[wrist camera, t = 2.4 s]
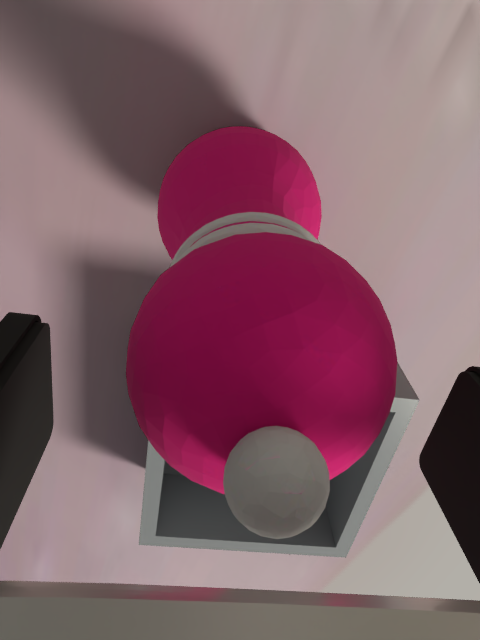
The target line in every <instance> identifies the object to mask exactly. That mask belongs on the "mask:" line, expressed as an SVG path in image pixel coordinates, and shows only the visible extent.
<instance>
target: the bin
mask: <svg viewBox="0 0 480 640" xmlns="http://www.w3.org/2000/svg"><path fill="white" fill-rule="evenodd" d="M418 402H419V398H418V397H417V395H416V393H415V391H414V390H413V388H412V386H411V385H410V383H409V381H408V380H407V378H406V376H405V374H404V373H403V371H402V369H401V368H400V366H399V364H398V362H397V377H396V392H395V397H394V400H393V404H392V407H391V410H390V413H389V415H388V417H387V419H386V421H385V424H384V426H383V428H382V430H381V432H380V434H379V435H378V437H377V438H376V439H375V441H374V442H373V443H372V445H371V446H370V448H369V449H368V450H367V452H366V453H365V454H364V455H363V456H362V457H361V458H360V459H358V460H357V461H356V462H355V463H354V464H353V465H351V466H350V467H349V468H348V469H347V470H345V471H344V472H342V473H341V474H339V475H337V476H336V477H334V478H332V479H331V480H330V492H329V496H328V499H327V503H326V506H325V509H324V510H323V512H322V514H321V515H320V517H319V518H318V520H317V521H316V522H315V523H314V524H313V525H312V526H311V527H310V528H308V529H306V530H305V531H303V532H301V533H299V534H298V535H295V536H292V537H288V538H281V539H274V538H268V537H263V536H260V535H258V534H256V533H254V532H252V531H250V530H248V529H247V528H246V527H245V526H244V525H243V524H242V523H240V522H239V521H238V520H237V518H236V517H235V516H234V514H233V513H232V511H231V509H230V507H229V505H228V502H227V500H226V497H225V494H221V493H219V492H217V491H214V490H212V489H210V488H207V487H205V486H203V485H200V484H198V483H196V482H193V481H191V480H190V479H188V478H187V477H185V476H184V475H183V474H181V473H180V472H178V471H177V470H175V469H174V468H173V467H171V466H170V465H169V464H168V463H167V462H166V461H165V460H164V459H163V458H162V457H161V456H160V455H159V453H158V452H157V451H156V450H155V449H154V447H153V446H152V444H151V443H150V442H149V440H148V449H147V460H146V471H145V482H144V493H143V504H142V515H141V526H140V537H139V545H150V546H167V547H183V548H199V549H216V550H232V551H248V552H265V553H281V554H297V555H314V556H330V557H346V556H347V554H348V552H349V550H350V548H351V546H352V544H353V541H354V539H355V537H356V535H357V533H358V531H359V529H360V526H361V524H362V522H363V520H364V518H365V516H366V514H367V511H368V509H369V507H370V505H371V503H372V501H373V499H374V496H375V494H376V492H377V490H378V488H379V486H380V484H381V482H382V479H383V477H384V475H385V473H386V471H387V469H388V467H389V464H390V462H391V460H392V458H393V456H394V454H395V452H396V449H397V447H398V445H399V443H400V441H401V439H402V437H403V434H404V432H405V430H406V428H407V426H408V424H409V422H410V420H411V417H412V415H413V413H414V411H415V409H416V407H417V405H418Z"/></svg>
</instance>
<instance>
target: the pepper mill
mask: <svg viewBox="0 0 480 640" xmlns="http://www.w3.org/2000/svg"><path fill="white" fill-rule="evenodd" d="M320 223H321V200H320V196H319V192H318V189H317V185H316V182H315V179H314V177H313V174H312V172H311V170H310V168H309V166H308V165H307V163H306V161H305V160H304V159H303V157H302V156H301V155H300V154H299V152H298V151H297V150H296V149H295V148H293V147H292V146H291V145H290V144H289V143H288V142H286V141H285V140H283V139H281V138H280V137H278V136H277V135H275V134H272V133H270V132H267V131H265V130H261V129H257V128H252V127H244V126H234V127H225V128H220V129H217V130H214V131H212V132H209V133H207V134H204V135H202V136H201V137H199V138H197V139H196V140H194V141H193V142H191V143H189V144H188V145H187V146H186V147H185V148H184V149H183V150H182V151H181V152H180V153H179V154H178V155H177V156H176V158H175V159H174V160H173V162H172V163H171V165H170V166H169V168H168V170H167V172H166V174H165V176H164V179H163V182H162V185H161V189H160V194H159V200H158V224H159V231H160V234H161V237H162V241H163V243H164V245H165V247H166V249H167V251H168V253H169V255H170V257H171V259H172V263H171V265H170V267H169V269H168V270H166V271H165V272H164V273H162V274H161V275H160V276H159V278H158V279H157V281H156V282H155V284H154V285H153V287H152V288H151V289H150V291H149V292H148V294H147V295H146V297H145V298H144V300H143V302H142V305H141V307H140V309H139V312H138V314H137V317H136V319H135V321H134V324H133V326H132V328H131V331H130V337H129V343H128V351H127V365H126V379H127V387H128V394H129V397H130V400H131V403H132V406H133V409H134V412H135V415H136V418H137V421H138V424H139V427H140V428H141V430H142V431H143V433H144V434H145V436H146V437H147V439H148V440H149V442H150V443H151V444H152V446H153V447H154V449H155V450H156V451H157V452H158V453H159V455H160V456H161V457H162V458H163V459H164V460H165V461H166V462H167V463H168V464H169V465H170V466H171V467H173V468H174V469H175V470H177V471H178V472H180V473H181V474H183V475H184V476H185V477H187V478H188V479H190V480H191V481H193V482H196V483H198V484H200V485H203V486H205V487H207V488H210V489H212V490H214V491H217V492H219V493H221V494H225V497H226V500H227V502H228V505H229V507H230V509H231V511H232V513H233V514H234V516H235V517H236V518H237V520H238V521H239V522H240V523H242V524H243V525H244V526H245V527H246V528H247V529H248V530H250V531H252V532H254V533H256V534H258V535H260V536H263V537H268V538H274V539H281V538H288V537H292V536H295V535H298V534H299V533H301V532H303V531H305V530H306V529H308V528H310V527H311V526H312V525H313V524H314V523H315V522H316V521H317V520H318V518H319V517H320V515H321V514H322V512H323V510H324V509H325V506H326V503H327V499H328V496H329V492H330V480H331V479H332V478H334V477H336V476H337V475H339V474H341V473H342V472H344V471H345V470H347V469H348V468H349V467H350V466H351V465H353V464H354V463H355V462H356V461H357V460H358V459H360V458H361V457H362V456H363V455H364V454H365V453H366V452H367V450H368V449H369V448H370V446H371V445H372V443H373V442H374V441H375V439H376V438H377V437H378V435H379V434H380V432H381V430H382V428H383V426H384V424H385V421H386V419H387V417H388V415H389V413H390V410H391V407H392V404H393V400H394V397H395V392H396V377H397V356H396V349H395V342H394V338H393V334H392V329H391V325H390V322H389V320H388V318H387V316H386V313H385V311H384V309H383V306H382V304H381V302H380V300H379V298H378V297H377V295H376V294H375V292H374V291H373V290H372V288H371V287H370V285H369V284H368V282H367V281H366V280H365V279H364V278H363V277H362V276H361V275H360V274H359V273H358V272H357V271H356V270H355V269H354V268H353V267H352V266H351V265H350V264H349V263H348V262H347V261H346V260H345V259H343V258H341V257H340V256H338V255H337V254H335V253H334V252H332V251H331V250H329V249H327V248H326V247H324V246H323V245H321V244H320V243H319V241H318V235H319V230H320Z"/></svg>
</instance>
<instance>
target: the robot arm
mask: <svg viewBox="0 0 480 640" xmlns="http://www.w3.org/2000/svg"><path fill="white" fill-rule="evenodd" d="M52 429H53V397H52V371H51V345H50V327H49V324H48V323H41V319H40V317H39V316H38V315H30V314H21V313H13V312H9V313H8V314H7V315H6V316H5V317H4V318H3V319H2V321H1V322H0V549H1V547H2V544H3V542H4V540H5V538H6V535H7V533H8V531H9V529H10V526H11V524H12V522H13V520H14V517H15V515H16V513H17V511H18V508H19V506H20V504H21V502H22V499H23V497H24V495H25V493H26V491H27V488H28V486H29V484H30V482H31V479H32V477H33V475H34V473H35V470H36V468H37V466H38V464H39V461H40V459H41V457H42V455H43V452H44V450H45V448H46V446H47V443H48V441H49V439H50V436H51V433H52ZM419 463H420V468H421V471H422V472H423V474H424V476H425V478H426V480H427V482H428V484H429V486H430V488H431V490H432V492H433V494H434V495H435V498H436V500H437V501H438V503H439V505H440V507H441V509H442V511H443V513H444V515H445V517H446V519H447V521H448V523H449V525H450V527H451V529H452V531H453V533H454V535H455V536H456V538H457V540H458V542H459V544H460V546H461V548H462V550H463V552H464V554H465V556H466V558H467V560H468V562H469V563H470V566H471V568H472V570H473V572H474V573H475V575H476V577H477V579H478V581H479V583H480V367H474V366H472V367H469V368H468V369H466V371H464V372H461V373H460V374H459V375H458V377H457V379H456V381H455V383H454V385H453V387H452V389H451V392H450V394H449V396H448V398H447V400H446V402H445V404H444V406H443V408H442V410H441V412H440V414H439V416H438V418H437V421H436V423H435V425H434V427H433V429H432V431H431V433H430V435H429V437H428V439H427V441H426V443H425V445H424V447H423V450H422V452H421V454H420V459H419ZM0 640H480V601H474V600H456V599H438V598H418V597H416V598H415V597H398V596H377V595H358V594H337V593H317V592H296V591H275V590H253V589H230V588H207V587H184V586H161V585H138V584H115V583H77V582H38V581H0Z"/></svg>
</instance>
